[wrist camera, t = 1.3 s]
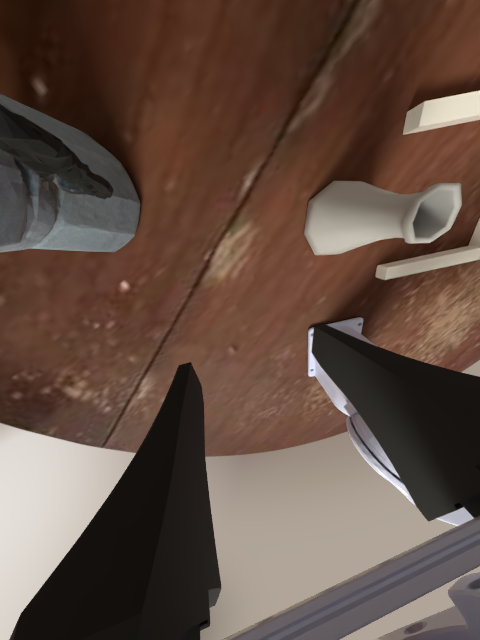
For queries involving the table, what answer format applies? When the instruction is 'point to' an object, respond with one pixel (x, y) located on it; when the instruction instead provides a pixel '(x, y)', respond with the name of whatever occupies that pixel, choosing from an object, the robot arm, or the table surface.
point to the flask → (378, 215)
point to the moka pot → (60, 187)
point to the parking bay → (428, 118)
